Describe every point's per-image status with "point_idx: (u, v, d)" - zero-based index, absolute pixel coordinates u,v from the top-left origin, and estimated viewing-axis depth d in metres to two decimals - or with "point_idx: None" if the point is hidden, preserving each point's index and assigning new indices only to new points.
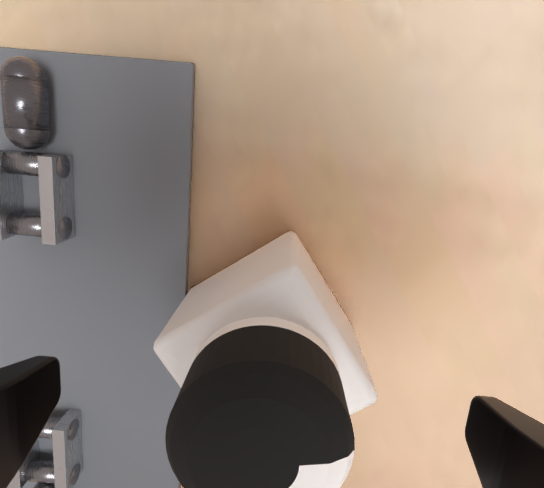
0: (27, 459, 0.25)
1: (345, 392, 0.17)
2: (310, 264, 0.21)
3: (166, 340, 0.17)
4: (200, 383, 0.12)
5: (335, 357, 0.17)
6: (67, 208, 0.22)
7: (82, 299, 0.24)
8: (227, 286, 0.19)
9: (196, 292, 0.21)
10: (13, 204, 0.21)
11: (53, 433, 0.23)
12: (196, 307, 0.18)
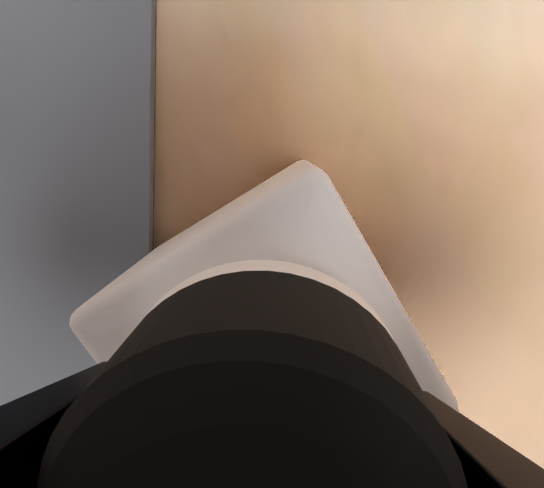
0: None
1: None
2: None
3: (90, 309, 0.10)
4: (106, 386, 0.05)
5: None
6: None
7: (0, 263, 0.16)
8: (202, 226, 0.11)
9: (160, 247, 0.14)
10: None
11: None
12: (150, 259, 0.11)
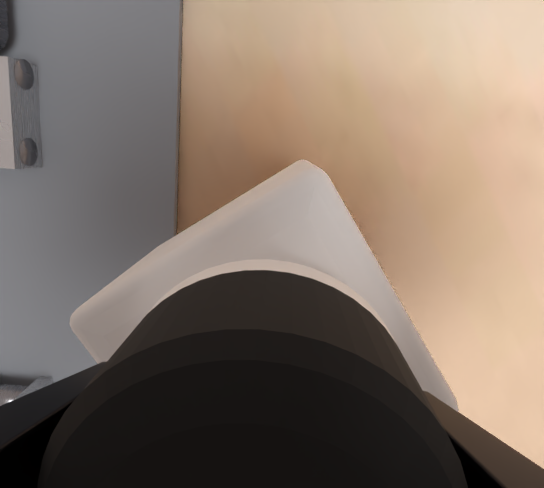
0: None
1: None
2: None
3: (90, 309, 0.10)
4: (107, 384, 0.05)
5: None
6: (30, 128, 0.18)
7: (51, 244, 0.20)
8: (202, 225, 0.11)
9: (160, 247, 0.14)
10: None
11: None
12: (150, 258, 0.11)
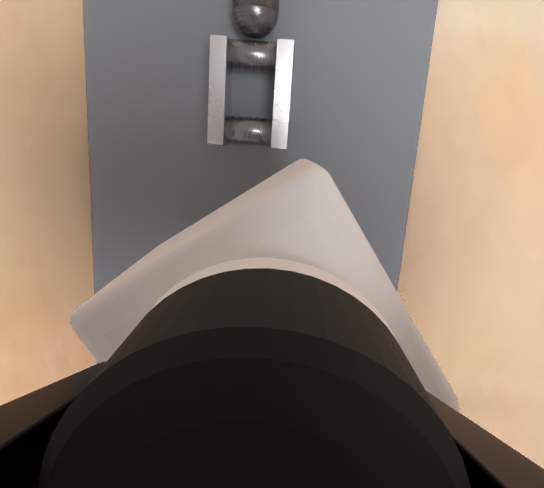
0: None
1: None
2: None
3: (91, 307, 0.10)
4: (108, 382, 0.05)
5: None
6: None
7: None
8: (203, 224, 0.11)
9: (161, 246, 0.14)
10: (228, 106, 0.19)
11: None
12: (151, 257, 0.11)
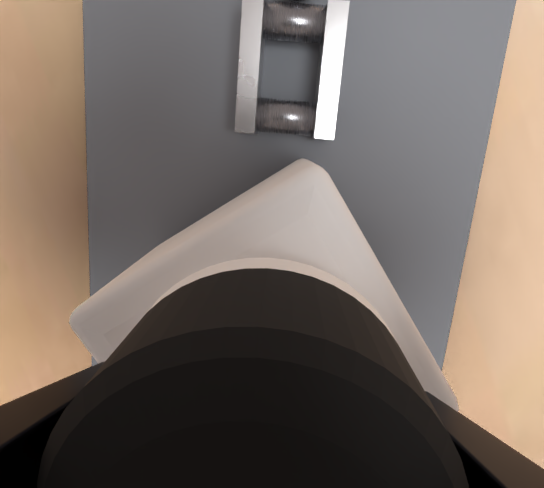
0: None
1: None
2: None
3: (90, 308, 0.10)
4: (106, 382, 0.05)
5: None
6: None
7: None
8: (202, 224, 0.11)
9: (160, 246, 0.14)
10: (260, 86, 0.15)
11: None
12: (150, 257, 0.11)
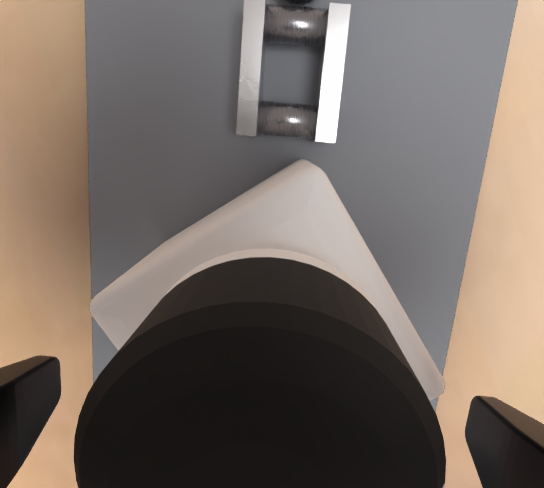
0: None
1: None
2: None
3: (109, 295, 0.11)
4: (136, 349, 0.06)
5: None
6: None
7: None
8: (209, 220, 0.12)
9: (169, 241, 0.15)
10: (261, 89, 0.15)
11: None
12: (161, 250, 0.12)
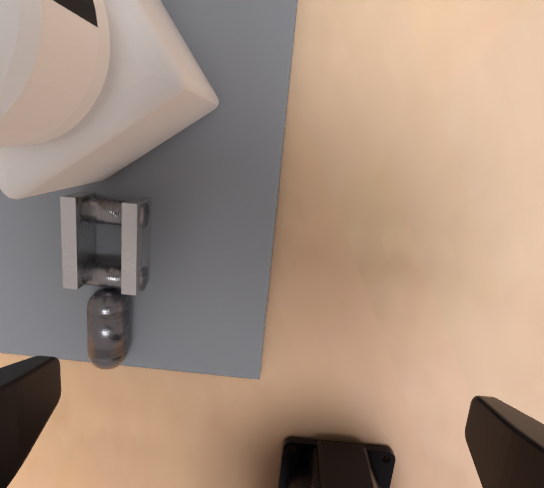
0: (85, 256, 0.20)
1: (132, 63, 0.12)
2: None
3: None
4: None
5: (113, 4, 0.12)
6: None
7: None
8: None
9: None
10: None
11: (123, 208, 0.18)
12: None
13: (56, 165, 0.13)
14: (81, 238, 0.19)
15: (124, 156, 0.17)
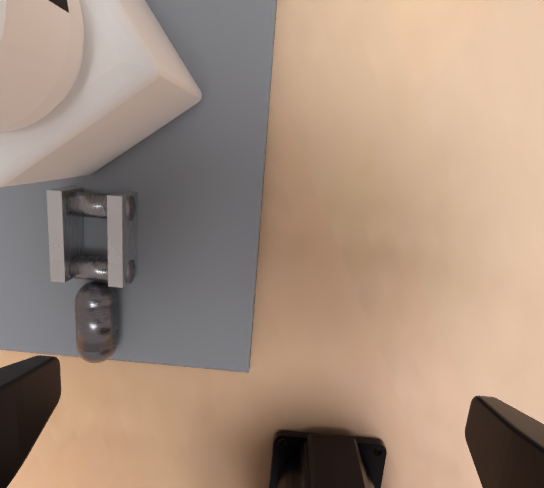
0: (72, 249, 0.20)
1: (107, 51, 0.12)
2: None
3: None
4: None
5: None
6: None
7: None
8: None
9: None
10: None
11: (108, 200, 0.19)
12: None
13: (35, 153, 0.13)
14: (68, 231, 0.20)
15: (107, 148, 0.17)
